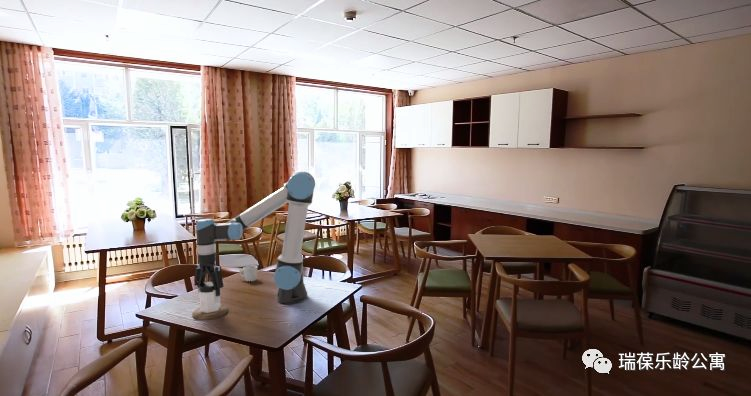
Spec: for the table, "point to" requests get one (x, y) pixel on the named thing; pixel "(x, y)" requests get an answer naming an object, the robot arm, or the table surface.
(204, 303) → the jar
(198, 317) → the disc
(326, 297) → the table surface
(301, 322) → the table surface
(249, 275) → the cup
